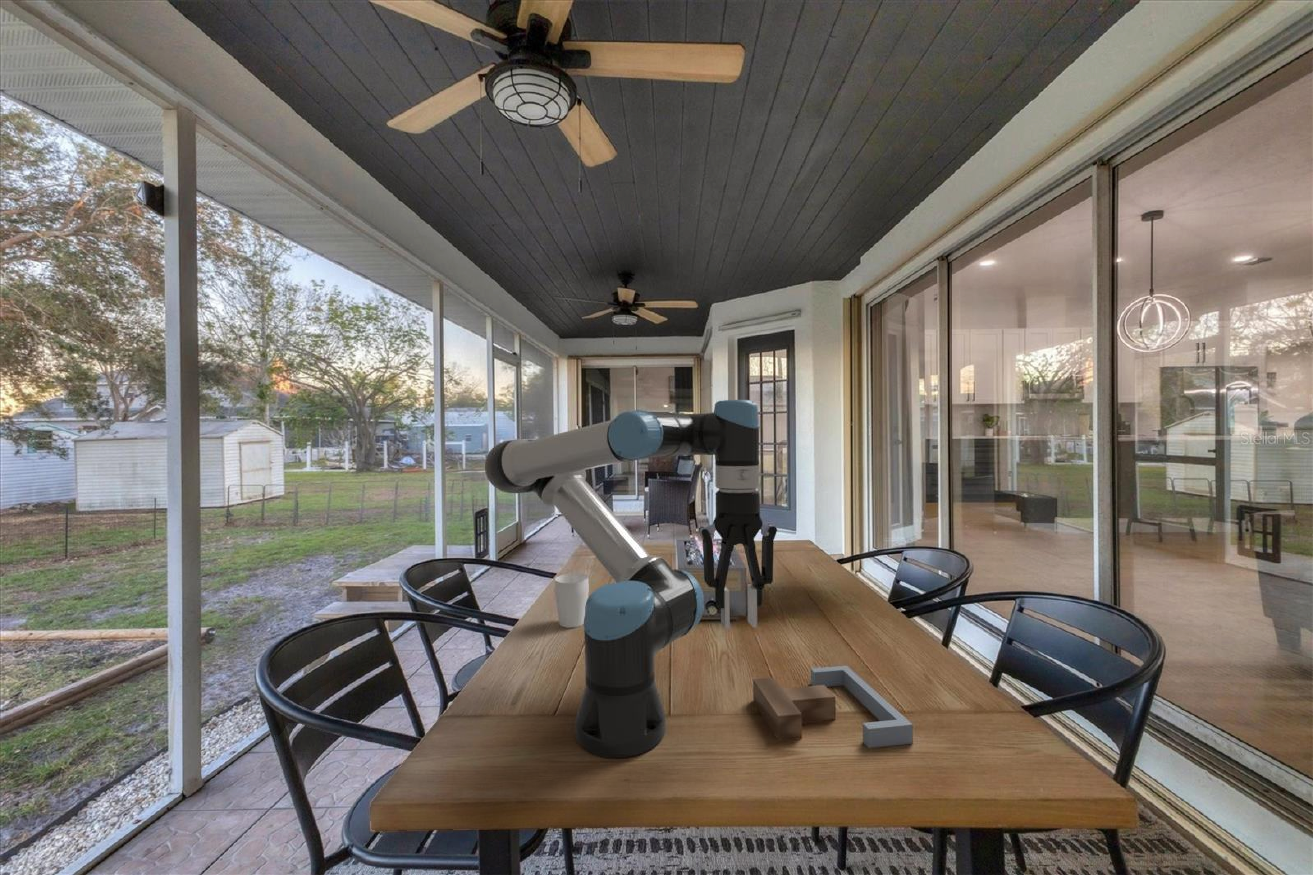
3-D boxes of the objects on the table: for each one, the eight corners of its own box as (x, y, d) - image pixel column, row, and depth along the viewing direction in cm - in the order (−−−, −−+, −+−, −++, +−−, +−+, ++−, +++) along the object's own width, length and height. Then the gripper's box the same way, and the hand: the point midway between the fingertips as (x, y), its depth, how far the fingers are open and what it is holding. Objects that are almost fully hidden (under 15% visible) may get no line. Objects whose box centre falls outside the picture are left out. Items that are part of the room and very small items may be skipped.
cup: (553, 619, 131) (552, 575, 131) (586, 615, 134) (585, 572, 134) (556, 632, 122) (556, 584, 122) (592, 627, 125) (591, 581, 125)
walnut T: (778, 740, 78) (778, 716, 78) (753, 700, 90) (753, 679, 90) (847, 733, 80) (847, 709, 80) (814, 695, 91) (814, 674, 91)
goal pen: (868, 748, 76) (868, 729, 76) (810, 683, 96) (810, 668, 96) (913, 743, 77) (912, 724, 77) (846, 680, 97) (846, 665, 97)
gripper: (693, 493, 78) (694, 637, 78) (793, 490, 81) (795, 630, 81) (684, 488, 86) (685, 620, 86) (776, 486, 88) (778, 614, 88)
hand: (738, 625), depth 83 cm, fingers open, 4 cm apart
